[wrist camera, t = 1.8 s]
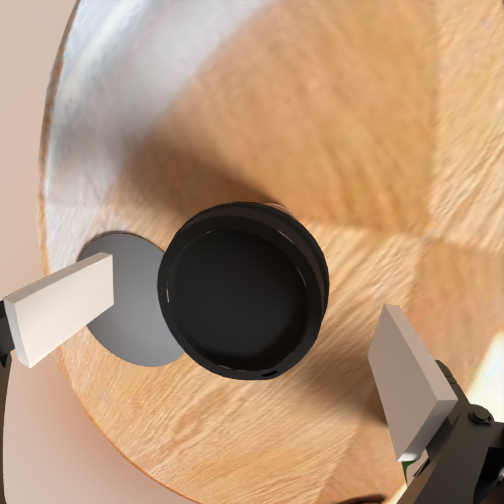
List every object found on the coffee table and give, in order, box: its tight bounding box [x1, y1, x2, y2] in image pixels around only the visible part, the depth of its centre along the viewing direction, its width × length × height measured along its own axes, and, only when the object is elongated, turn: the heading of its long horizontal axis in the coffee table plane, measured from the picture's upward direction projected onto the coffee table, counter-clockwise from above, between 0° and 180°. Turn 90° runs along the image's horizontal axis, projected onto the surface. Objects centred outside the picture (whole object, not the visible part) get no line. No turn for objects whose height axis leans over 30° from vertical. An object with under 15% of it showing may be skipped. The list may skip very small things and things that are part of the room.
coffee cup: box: [157, 202, 330, 380], centre depth 20 cm, size 8×8×15 cm
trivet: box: [78, 233, 185, 367], centre depth 31 cm, size 16×16×1 cm
